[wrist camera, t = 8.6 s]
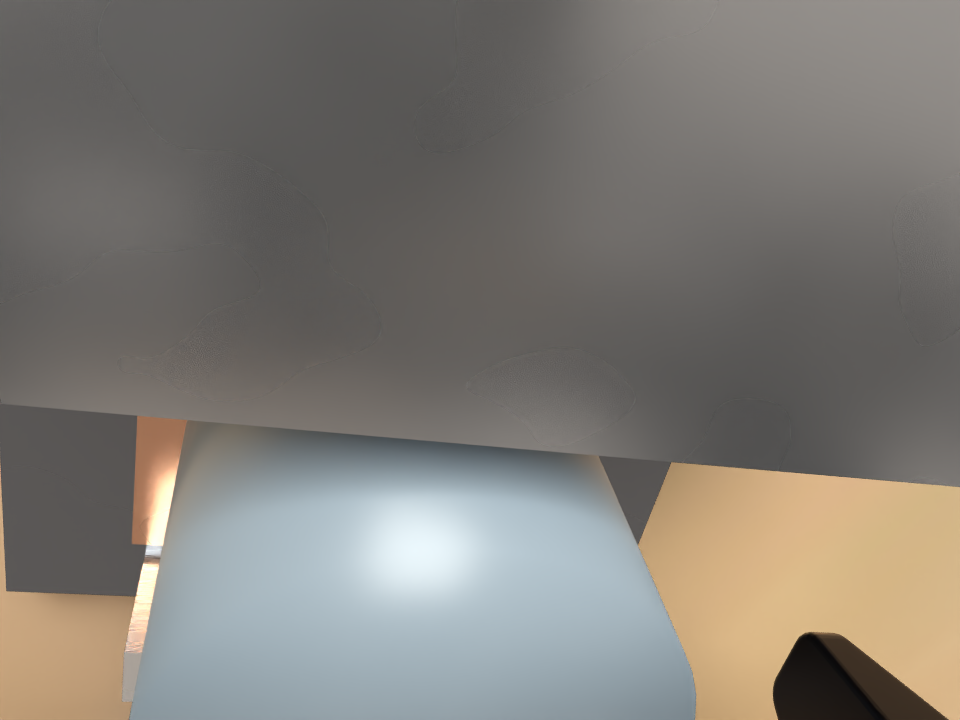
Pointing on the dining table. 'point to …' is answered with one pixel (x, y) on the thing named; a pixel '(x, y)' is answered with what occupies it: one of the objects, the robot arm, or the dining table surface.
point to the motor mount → (467, 244)
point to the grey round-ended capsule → (400, 586)
